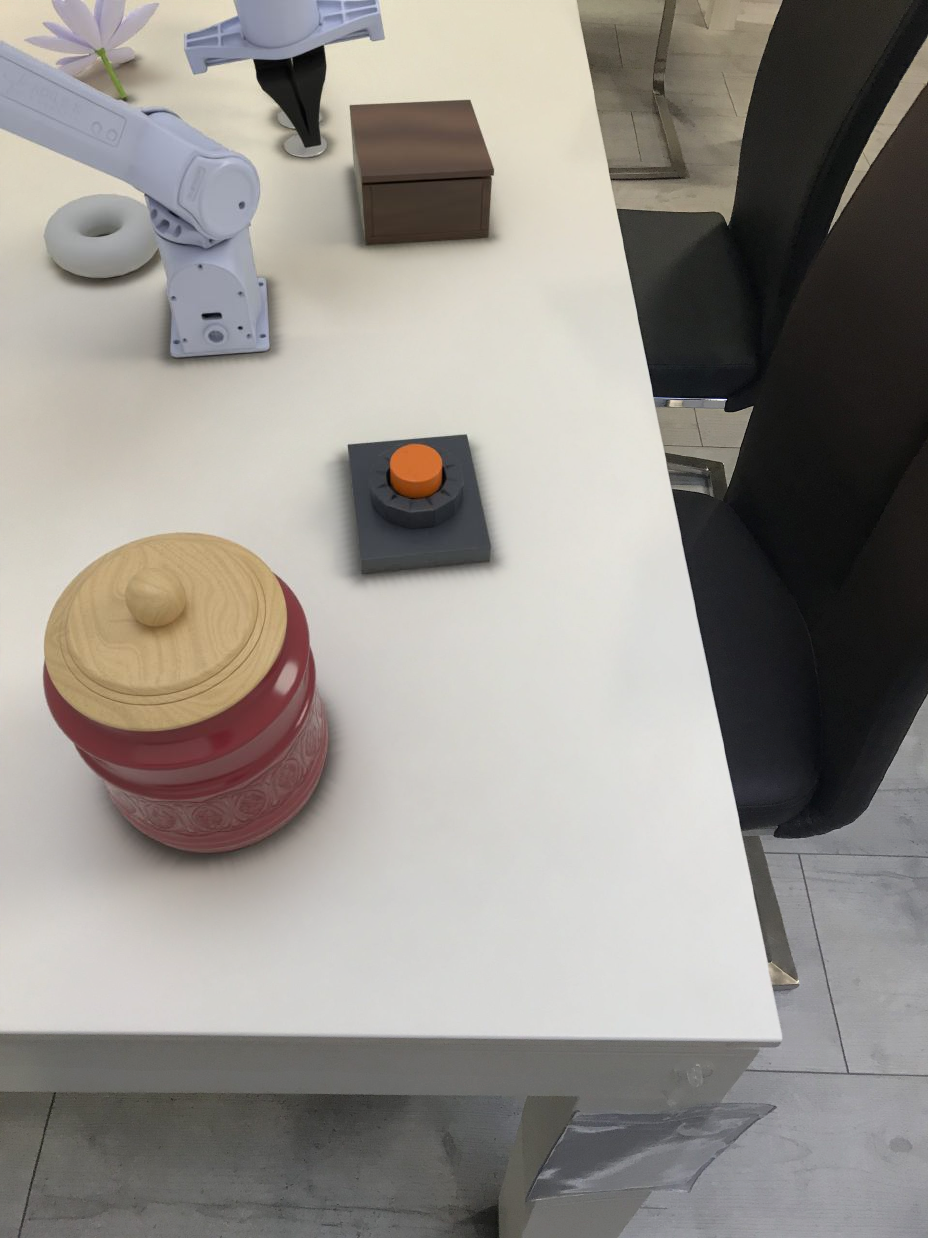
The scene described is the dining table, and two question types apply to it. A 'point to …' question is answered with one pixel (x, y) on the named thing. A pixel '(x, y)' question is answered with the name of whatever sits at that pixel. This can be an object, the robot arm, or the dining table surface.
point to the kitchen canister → (189, 689)
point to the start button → (416, 471)
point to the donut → (105, 255)
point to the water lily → (93, 34)
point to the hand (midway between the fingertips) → (312, 138)
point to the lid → (419, 141)
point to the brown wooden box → (423, 208)
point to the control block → (417, 510)
